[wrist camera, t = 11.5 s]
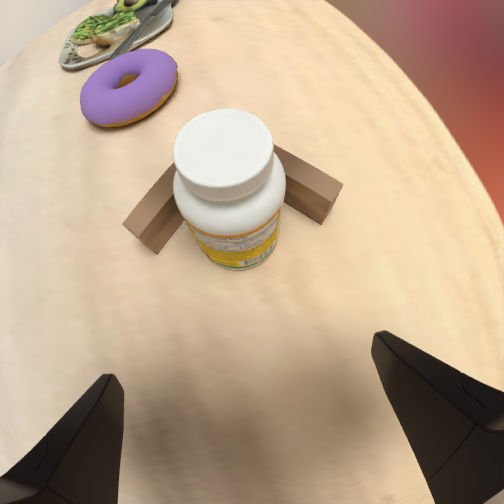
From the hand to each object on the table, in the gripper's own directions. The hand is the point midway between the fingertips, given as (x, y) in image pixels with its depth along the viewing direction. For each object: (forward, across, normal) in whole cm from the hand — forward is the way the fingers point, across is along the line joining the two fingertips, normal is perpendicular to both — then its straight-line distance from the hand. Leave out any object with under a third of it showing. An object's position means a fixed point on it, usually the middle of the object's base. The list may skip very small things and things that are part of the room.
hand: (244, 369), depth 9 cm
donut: (+23, +7, -12) cm, 27 cm away
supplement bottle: (+12, -1, 0) cm, 12 cm away
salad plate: (+35, +11, -24) cm, 44 cm away
